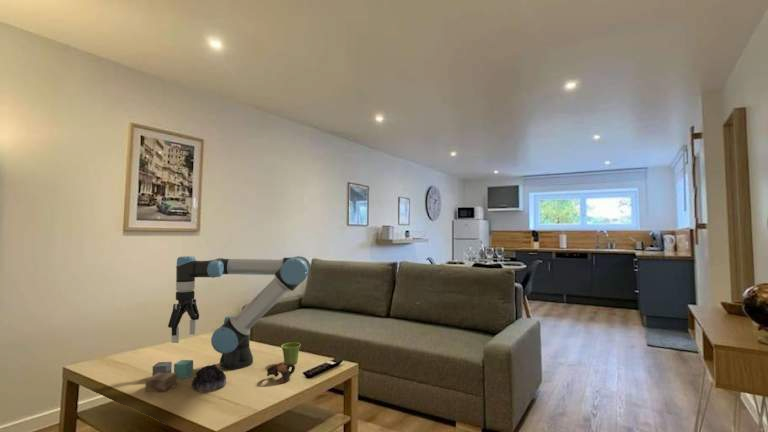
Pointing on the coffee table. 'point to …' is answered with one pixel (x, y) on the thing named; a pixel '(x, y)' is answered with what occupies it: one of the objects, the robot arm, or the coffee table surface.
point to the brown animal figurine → (281, 371)
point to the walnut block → (161, 382)
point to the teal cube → (183, 368)
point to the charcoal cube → (162, 367)
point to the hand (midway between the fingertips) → (184, 338)
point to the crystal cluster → (209, 379)
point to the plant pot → (290, 352)
